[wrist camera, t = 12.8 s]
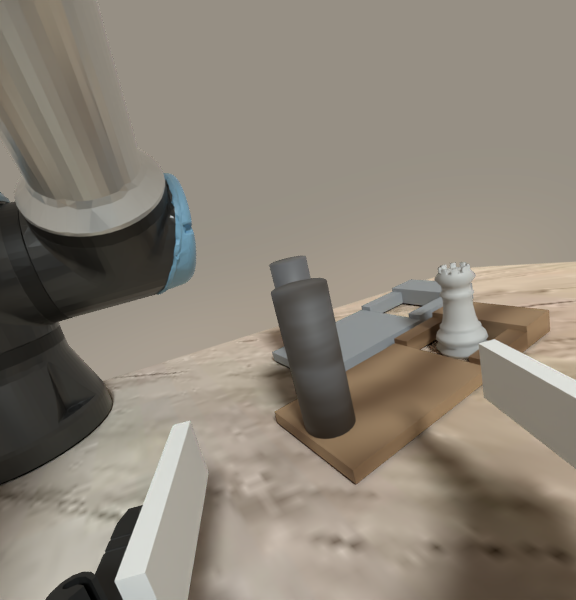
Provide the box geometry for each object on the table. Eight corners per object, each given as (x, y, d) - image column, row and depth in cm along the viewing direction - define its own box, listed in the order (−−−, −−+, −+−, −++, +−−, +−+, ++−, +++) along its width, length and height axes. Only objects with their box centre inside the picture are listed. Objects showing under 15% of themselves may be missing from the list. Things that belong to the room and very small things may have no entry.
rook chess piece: (457, 366, 30) (446, 276, 28) (427, 348, 34) (415, 269, 32) (502, 351, 30) (495, 262, 28) (467, 335, 35) (459, 257, 33)
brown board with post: (277, 422, 28) (240, 291, 25) (456, 316, 39) (444, 218, 36) (356, 484, 20) (316, 305, 17) (549, 330, 31) (544, 207, 29)
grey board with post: (274, 360, 39) (249, 265, 37) (412, 292, 51) (401, 216, 48) (323, 384, 32) (296, 267, 29) (473, 298, 43) (464, 208, 40)
